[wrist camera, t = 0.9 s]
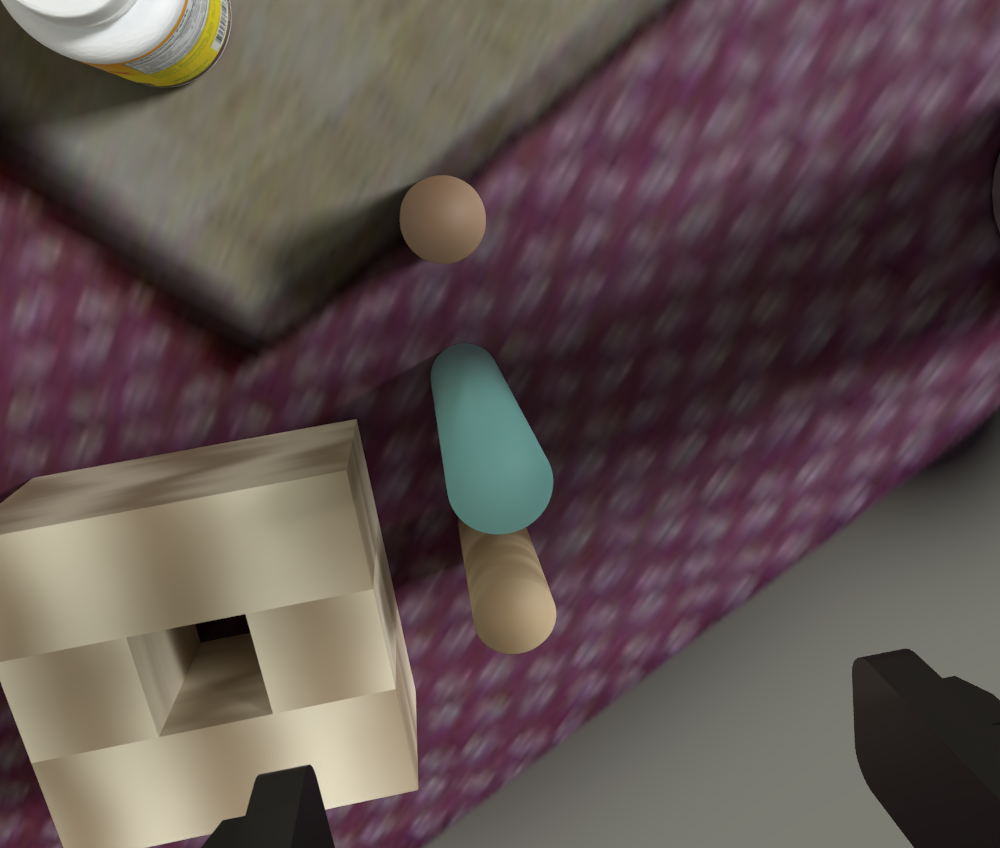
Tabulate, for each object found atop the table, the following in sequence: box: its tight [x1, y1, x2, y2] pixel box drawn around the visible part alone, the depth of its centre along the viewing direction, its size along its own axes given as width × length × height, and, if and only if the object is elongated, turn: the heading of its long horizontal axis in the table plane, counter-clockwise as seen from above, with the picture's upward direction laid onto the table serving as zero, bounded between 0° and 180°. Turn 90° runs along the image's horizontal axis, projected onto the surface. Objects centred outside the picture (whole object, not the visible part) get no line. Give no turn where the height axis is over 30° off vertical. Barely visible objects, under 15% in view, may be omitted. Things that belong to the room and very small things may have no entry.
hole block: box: [0, 419, 418, 848], centre depth 35 cm, size 14×14×7 cm
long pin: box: [431, 343, 553, 534], centre depth 30 cm, size 3×3×14 cm
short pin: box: [400, 175, 486, 264], centre depth 32 cm, size 3×3×6 cm
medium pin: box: [458, 517, 556, 654], centre depth 34 cm, size 3×3×9 cm
